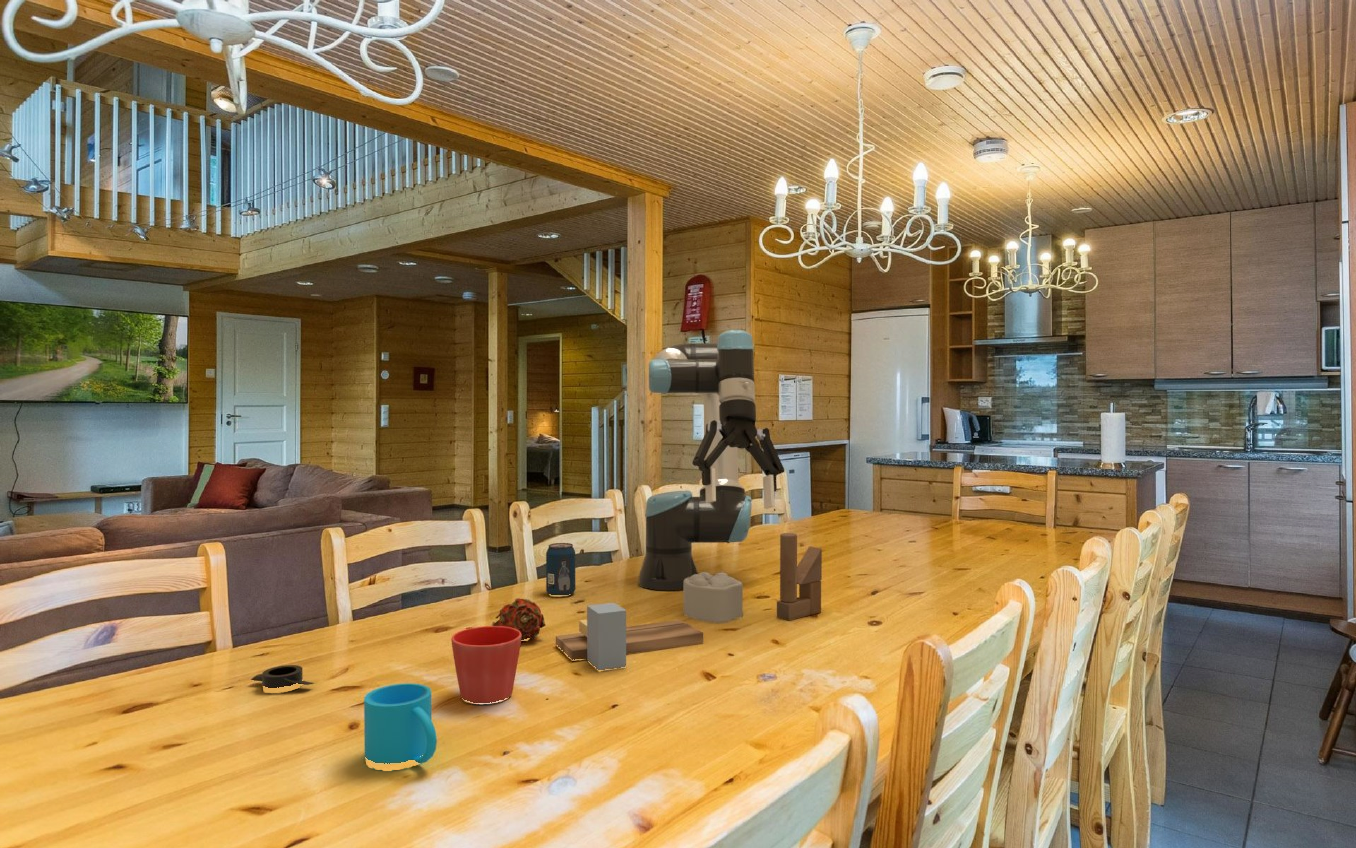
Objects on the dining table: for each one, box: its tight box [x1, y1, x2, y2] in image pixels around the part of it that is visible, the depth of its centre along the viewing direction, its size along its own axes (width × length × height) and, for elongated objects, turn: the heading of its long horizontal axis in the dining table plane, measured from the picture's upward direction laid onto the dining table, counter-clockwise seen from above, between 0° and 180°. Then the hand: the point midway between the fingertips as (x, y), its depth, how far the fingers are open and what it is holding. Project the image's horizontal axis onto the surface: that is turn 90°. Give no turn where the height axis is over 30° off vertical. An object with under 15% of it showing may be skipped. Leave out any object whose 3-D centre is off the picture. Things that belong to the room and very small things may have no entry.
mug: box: [363, 682, 438, 764], centre depth 100 cm, size 12×8×8 cm
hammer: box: [578, 602, 627, 670], centre depth 142 cm, size 15×5×10 cm, turn 26°
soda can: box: [545, 542, 576, 595], centre depth 189 cm, size 7×7×12 cm
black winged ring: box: [250, 664, 315, 688], centre depth 127 cm, size 8×10×3 cm
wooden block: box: [776, 532, 823, 621], centre depth 170 cm, size 4×11×18 cm, turn 130°
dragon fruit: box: [491, 597, 546, 640], centre depth 153 cm, size 8×8×12 cm
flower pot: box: [451, 625, 522, 703], centre depth 123 cm, size 11×11×10 cm
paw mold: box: [682, 571, 744, 624], centre depth 171 cm, size 10×13×9 cm
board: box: [555, 619, 704, 660], centre depth 149 cm, size 10×26×2 cm, turn 116°
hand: (740, 505), depth 157 cm, fingers open, 13 cm apart
